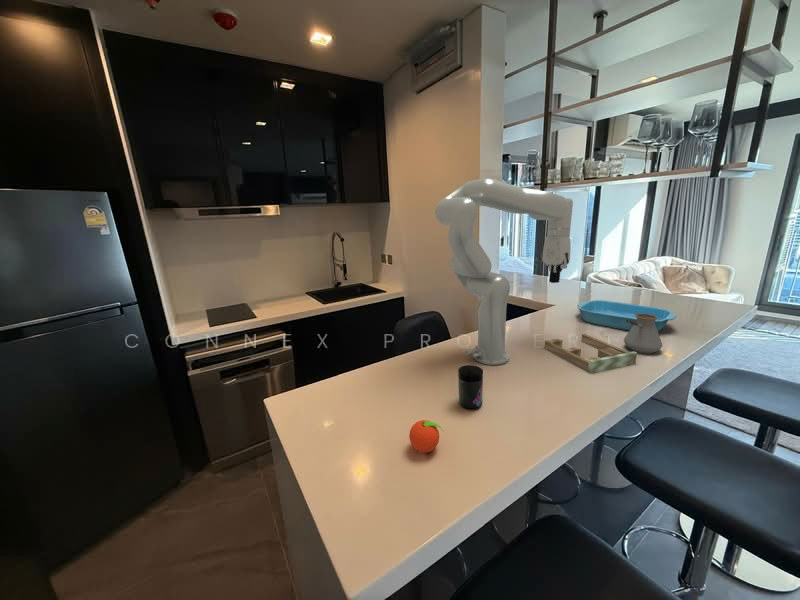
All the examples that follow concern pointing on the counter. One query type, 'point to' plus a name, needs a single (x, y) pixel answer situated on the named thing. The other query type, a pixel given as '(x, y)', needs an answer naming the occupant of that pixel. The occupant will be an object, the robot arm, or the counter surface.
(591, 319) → the casserole dish
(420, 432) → the clementine
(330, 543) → the counter surface
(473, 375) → the supplement container
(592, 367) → the trap box
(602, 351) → the walnut block
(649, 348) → the coffee pot
